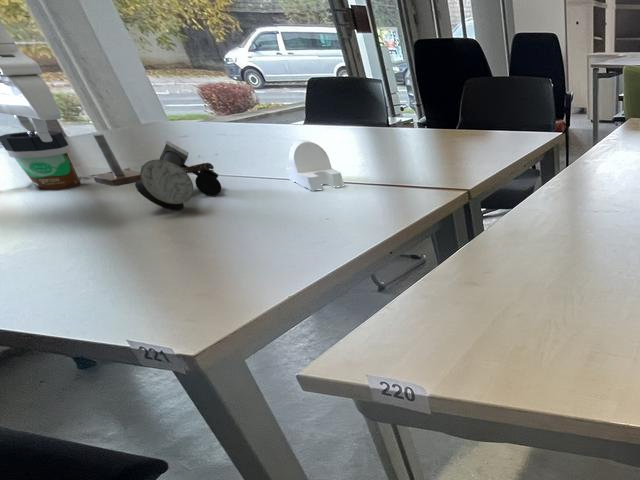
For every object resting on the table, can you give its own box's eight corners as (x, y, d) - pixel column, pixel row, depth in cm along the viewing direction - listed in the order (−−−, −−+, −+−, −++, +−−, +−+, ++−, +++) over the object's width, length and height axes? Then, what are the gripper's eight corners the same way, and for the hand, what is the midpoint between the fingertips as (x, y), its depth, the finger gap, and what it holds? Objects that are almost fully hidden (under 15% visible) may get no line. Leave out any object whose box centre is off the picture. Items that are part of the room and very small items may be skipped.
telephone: (207, 237, 128) (209, 204, 147) (228, 193, 125) (227, 165, 144) (128, 199, 117) (141, 168, 136) (149, 149, 114) (159, 126, 133)
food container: (29, 193, 135) (2, 150, 128) (30, 188, 138) (3, 146, 132) (88, 187, 141) (64, 146, 135) (87, 182, 145) (64, 142, 138)
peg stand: (114, 185, 143) (88, 138, 135) (95, 182, 145) (69, 135, 138) (148, 179, 149) (125, 134, 141) (129, 175, 152) (106, 131, 144)
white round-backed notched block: (312, 191, 142) (298, 148, 135) (289, 179, 152) (274, 138, 145) (345, 186, 148) (334, 144, 141) (321, 175, 157) (309, 135, 150)
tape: (22, 153, 108) (13, 139, 106) (-2, 148, 111) (-11, 135, 110) (76, 146, 115) (69, 133, 113) (52, 142, 118) (44, 129, 117)
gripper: (-51, 58, 103) (-1, 137, 112) (3, 65, 96) (51, 148, 105) (-11, 58, 107) (34, 133, 116) (42, 63, 101) (86, 143, 110)
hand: (42, 140), depth 111 cm, fingers closed on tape, 2 cm apart
